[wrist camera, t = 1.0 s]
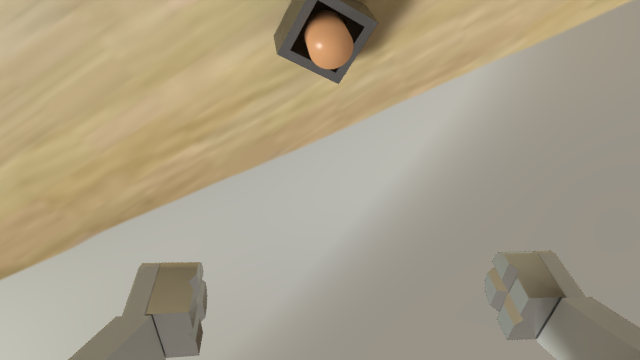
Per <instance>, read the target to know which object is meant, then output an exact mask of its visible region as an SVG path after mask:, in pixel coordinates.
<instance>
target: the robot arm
mask: <svg viewBox="0 0 640 360" xmlns="http://www.w3.org/2000/svg"><path fill="white" fill-rule="evenodd" d="M492 262H493V264H494V266H495V267H494V268H493V269H491V270H490V271H489V272H488V273H487V276H486V279H485V292H486V296H487V299H488V301H489V303H490V305H491V306H492V307H494V308H495V309H496V310H497V311H499V313H498V316H497V320H498V323H499V325H500V327H501V329H502V330H503V333H504V335H505V337H506V339H507V340H515V339H517V340H518V339H537V340H536V341H537V342H538V343H539V344H540V345H542V346H543V347H544V348H545V349H546V350H547V351H548V352H549V353H550V354H551V355H552V356H553V357H555V358H556V359H557V360H640V328H639V327H638V326H636V325H635V324H633V323H631V322H630V321H628V320H627V319H625V318H624V317H622V316H620V315H619V314H617V313H616V312H614V311H613V310H611V309H609V308H608V307H606V306H605V305H603V304H602V303H600V302H599V301H597V300H595V299H594V298H592V297H586V296H585V295H584V293H583V292H582V291H581V289H580V288H579V287H578V285H577V283H576V282H575V281H574V279H573V278H572V277H571V275H570V274H569V272H568V271H567V270H566V268H565V267H564V265H563V264H562V262H561V261H560V260H559V258H558V257H557V255H556V254H555V253H554V252H552V251H551V250H550V251H519V252H498V253H497V254H496V255H495V257H494V258H493V261H492ZM202 277H203V267H202V263H200V262H197V263H196V262H194V263H192V262H189V263H142V265H141V266H140V267H139V268H138V271H137V274H136V277H135V280H134V283H133V286H132V288H131V292H130V294H129V297H128V300H127V303H126V306H125V309H124V312H123V315H122V316H119V317H115V318H114V319H113V320H112V321H111V322H109V323H108V324H107V325H106V326H105V327H104V328H103V329H102V330H101V331H100V332H98V333H97V334H96V335H95V336H94V337H93V338H92V339H91V340H90V341H88V342H87V343H86V344H85V345H84V346H83V347H82V348H81V349H80V350H78V351H77V352H76V353H75V354H74V355H73V356H72V357H71V358H70V359H68V360H166V359H165V358H169V357H183V356H195V355H199V353H200V347H201V341H202V335H203V331H202V326H201V321H202V320H203V319H204V318H205V315H206V308H207V289H206V283H205V282H204V281H203V280H202Z"/></svg>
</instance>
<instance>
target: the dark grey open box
mask: <svg viewBox="0 0 640 360" xmlns="http://www.w3.org/2000/svg"><path fill="white" fill-rule="evenodd" d="M319 1H320V2H322V3H324V4H326V5H327V6H329V7H331V8H333V9H334V10H336V11H338V12H340V13H341V14H343V15H345V16H347V17H349V18H350V19H349V21H348V22H347V24H346V28H347V30H348V31H349V33H350V35H351V37H352V40H353V52H352V55H351V57H350V58H349V60H348V61H347V62H346V63H345V64H344V65H342V66H341V67H338V68H335V69H323V68H321V67H319V66H317V65H316V64H315V63H314V62H313V61H312V59H311V57H310V54H309V51H308V48H307V45H306V42H304V41H302V40H300V39H298V38H297V36H298V35H299V33H300V31H301V29H302V27H303V25H304V24H305V22H306V20H307V18H308V16H309V14H310V13H311V11H312V9H313V7H314V5H315V3H316V2H317V0H292V2H291V4H290V6H289V7H288V9H287V11H286V13H285V15H284V17H283V19H282V21H281V23H280V25H279V27H278V29H277V31H276V33H275V35H274V40H275V45H276V51H277V54H278V55H280V56H282V57H284V58H286V59H288V60H290V61H292V62H294V63H296V64H298V65H300V66H302V67H304V68H307V69H309V70H311V71H313V72H315V73H317V74H319V75H321V76H323V77H325V78H327V79H329V80H331V81H333V82H336V83H338V84H339V83H340V81H341V80H342V78H343V76H344V75H345V73H346V72H347V70H348V69H349V67H350V66H351V64H352V62H353V61H354V59H355V58H356V56H357V55H358V53H359V51H360V50H361V48H362V47H363V45H364V44H365V42H366V41H367V39H368V37H369V36H370V34H371V33H372V31H373V30H374V28H375V27H376V25H377V23H378V22H377V21H376V19H375V18H374V16H373V15H372V13H371V12H370V11H369V9H368V8H367V7H366V6H365V5H363V4H361V3H360V2H358V1H356V0H319Z"/></svg>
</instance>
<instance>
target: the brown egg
mask: <svg viewBox="0 0 640 360" xmlns="http://www.w3.org/2000/svg"><path fill="white" fill-rule="evenodd" d="M304 39H305V42H306V45H307V48H308V51H309V54H310V57H311V59H312V61H313V62H314V63H315V64H316V65H317V66H319V67H321V68H323V69H335V68H338V67H341V66H342V65H344V64H345V63H346V62H347V61H348V60H349V58H350V57H351V55H352V52H353V40H352V37H351V35H350V33H349V31H348V30H347V28H346V26H345V24H344V22H343V20H342V19H341V17H340V16H339V15H338V14H336V13H334V12H332V11H328V10H324V11H319V12H316V13H315V14H313V15H312V16H311V17H310V18H309V19H308V20H307V22H306V24H305V26H304Z"/></svg>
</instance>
